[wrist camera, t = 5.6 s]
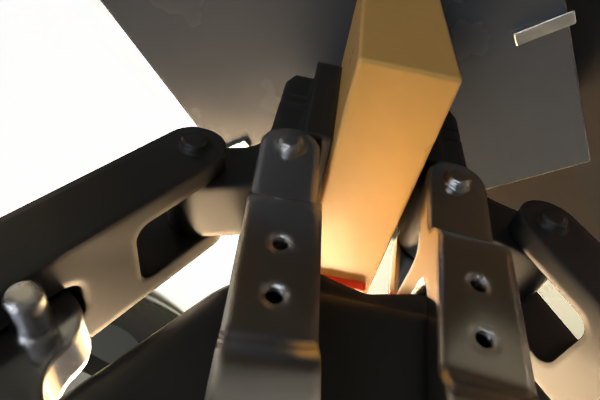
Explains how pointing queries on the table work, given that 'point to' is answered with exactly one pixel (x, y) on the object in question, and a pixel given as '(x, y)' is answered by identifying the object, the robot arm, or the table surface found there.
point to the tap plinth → (330, 49)
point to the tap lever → (383, 129)
